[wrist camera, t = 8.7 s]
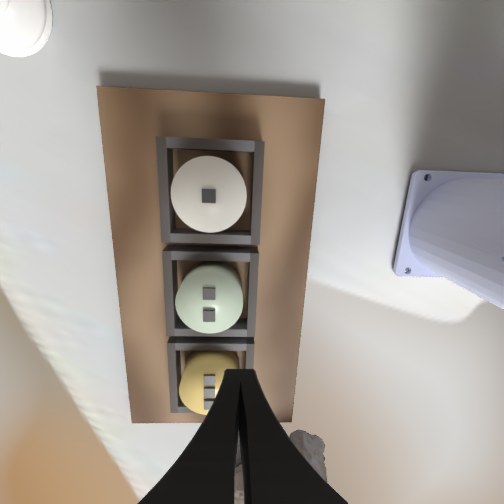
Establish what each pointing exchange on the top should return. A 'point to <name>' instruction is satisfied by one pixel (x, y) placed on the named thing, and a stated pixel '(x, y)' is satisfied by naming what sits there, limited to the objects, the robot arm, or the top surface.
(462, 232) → the robot arm
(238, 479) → the stone
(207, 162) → the button one
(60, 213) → the top surface
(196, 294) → the button two
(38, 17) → the chess piece
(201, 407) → the button three
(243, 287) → the button board
